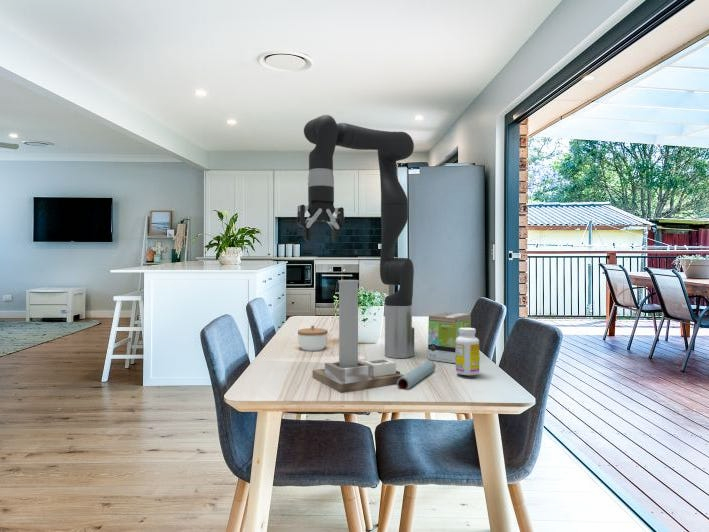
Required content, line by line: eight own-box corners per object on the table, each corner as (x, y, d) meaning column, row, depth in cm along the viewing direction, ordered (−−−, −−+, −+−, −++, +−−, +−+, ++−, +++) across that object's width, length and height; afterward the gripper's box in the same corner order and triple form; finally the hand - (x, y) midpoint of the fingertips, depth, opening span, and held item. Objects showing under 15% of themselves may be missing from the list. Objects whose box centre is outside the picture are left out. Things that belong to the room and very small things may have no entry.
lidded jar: (296, 349, 164) (296, 324, 164) (324, 348, 167) (324, 323, 167) (299, 355, 154) (299, 328, 154) (330, 354, 156) (330, 327, 156)
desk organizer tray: (371, 369, 132) (371, 351, 132) (404, 382, 117) (404, 361, 117) (312, 377, 123) (312, 357, 123) (340, 392, 108) (340, 369, 108)
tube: (358, 380, 112) (358, 280, 112) (337, 380, 112) (337, 280, 112) (359, 375, 117) (359, 280, 117) (339, 374, 117) (339, 279, 117)
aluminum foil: (409, 391, 111) (409, 378, 111) (384, 388, 114) (384, 375, 114) (435, 372, 131) (435, 360, 131) (414, 370, 134) (414, 358, 134)
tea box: (456, 363, 141) (456, 317, 141) (426, 360, 146) (427, 315, 146) (471, 355, 153) (471, 312, 153) (443, 352, 159) (443, 311, 159)
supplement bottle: (480, 371, 130) (480, 327, 130) (478, 376, 124) (478, 330, 124) (456, 369, 132) (456, 326, 132) (454, 374, 126) (454, 329, 126)
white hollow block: (385, 370, 123) (385, 358, 123) (395, 373, 118) (395, 361, 118) (363, 372, 119) (363, 360, 119) (373, 376, 115) (373, 364, 115)
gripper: (303, 182, 123) (304, 241, 123) (348, 186, 130) (348, 242, 130) (293, 186, 129) (293, 242, 130) (336, 190, 137) (336, 243, 137)
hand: (321, 242), depth 130 cm, fingers open, 8 cm apart
